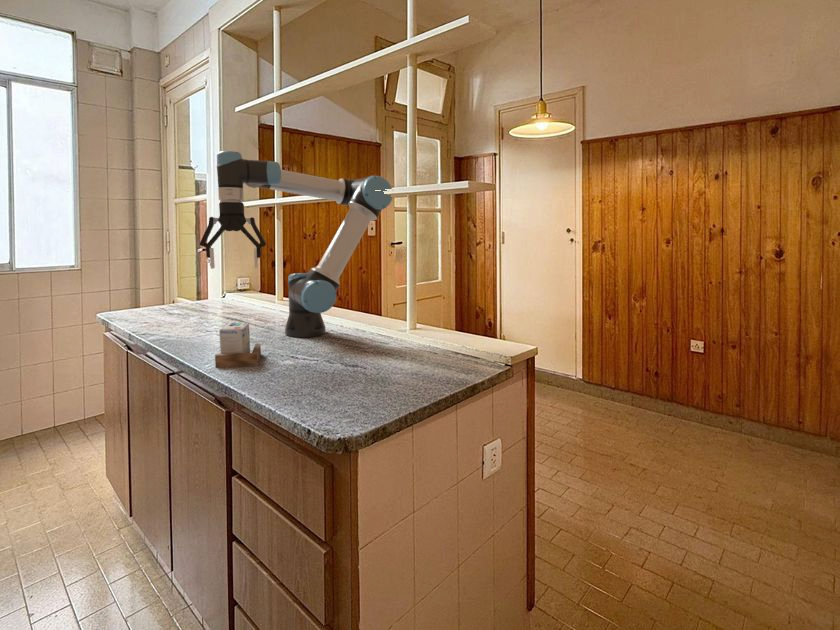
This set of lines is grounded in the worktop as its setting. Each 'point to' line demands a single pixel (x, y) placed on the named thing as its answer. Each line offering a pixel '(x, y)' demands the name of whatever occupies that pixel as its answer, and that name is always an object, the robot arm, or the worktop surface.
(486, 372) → the worktop surface
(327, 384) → the worktop surface
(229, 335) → the light bulb box
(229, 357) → the walnut corner fence
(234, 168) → the robot arm
